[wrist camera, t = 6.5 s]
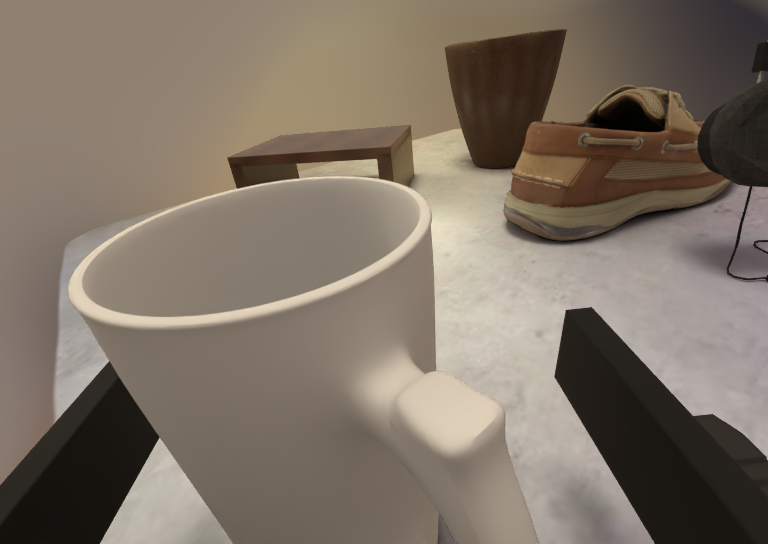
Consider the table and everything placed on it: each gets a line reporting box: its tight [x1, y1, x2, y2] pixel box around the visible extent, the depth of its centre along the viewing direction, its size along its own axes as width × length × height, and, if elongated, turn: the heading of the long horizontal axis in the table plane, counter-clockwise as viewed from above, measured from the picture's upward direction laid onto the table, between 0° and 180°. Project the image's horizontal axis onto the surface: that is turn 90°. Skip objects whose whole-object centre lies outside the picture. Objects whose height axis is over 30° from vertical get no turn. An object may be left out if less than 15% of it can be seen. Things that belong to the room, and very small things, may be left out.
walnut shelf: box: [228, 125, 414, 189], centre depth 49 cm, size 20×14×7 cm
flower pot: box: [445, 29, 567, 168], centre depth 51 cm, size 15×15×16 cm
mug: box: [68, 176, 539, 544], centre depth 9 cm, size 10×7×12 cm, turn 38°
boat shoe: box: [503, 85, 731, 241], centre depth 35 cm, size 11×29×10 cm, turn 121°
